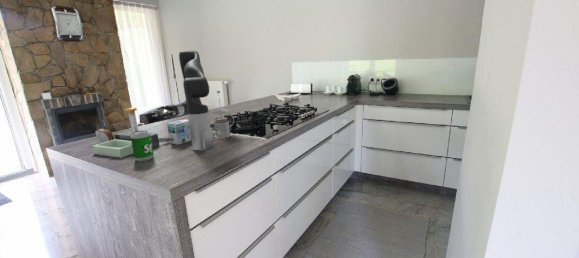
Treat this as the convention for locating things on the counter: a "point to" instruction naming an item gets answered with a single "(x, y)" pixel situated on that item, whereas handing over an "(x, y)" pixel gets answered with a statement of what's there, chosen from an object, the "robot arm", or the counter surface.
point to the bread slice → (104, 135)
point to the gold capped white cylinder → (132, 119)
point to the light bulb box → (179, 131)
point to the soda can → (142, 145)
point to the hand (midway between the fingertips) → (151, 116)
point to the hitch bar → (127, 134)
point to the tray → (114, 148)
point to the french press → (218, 122)
